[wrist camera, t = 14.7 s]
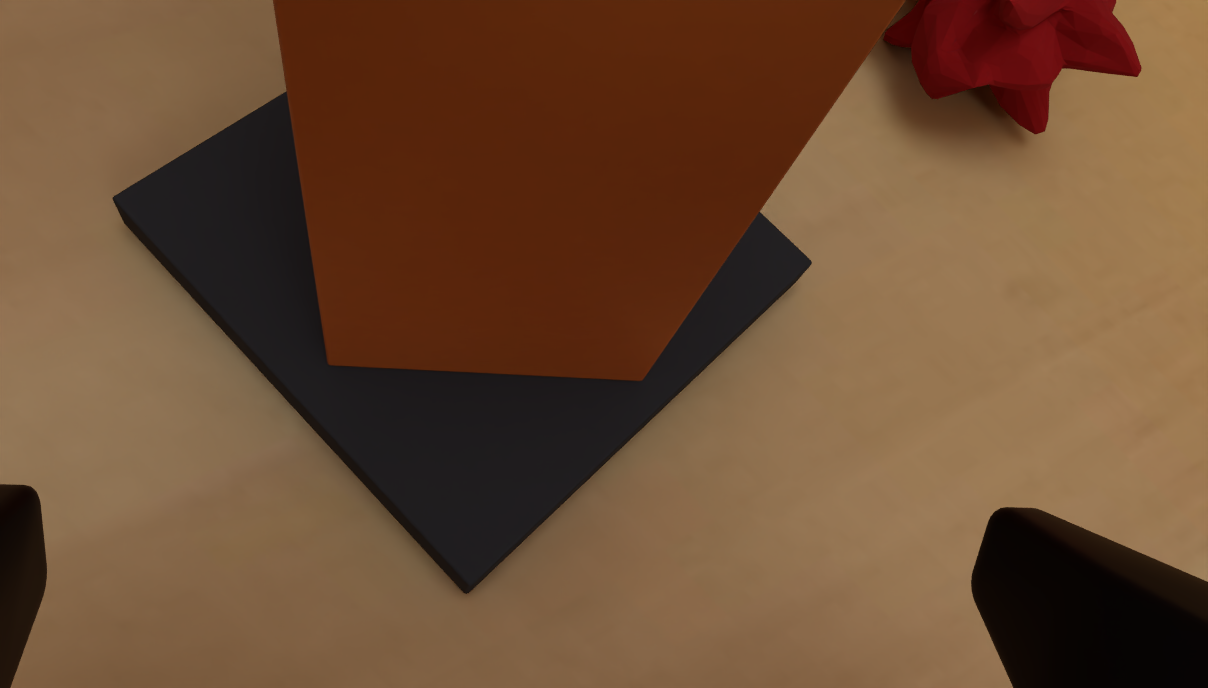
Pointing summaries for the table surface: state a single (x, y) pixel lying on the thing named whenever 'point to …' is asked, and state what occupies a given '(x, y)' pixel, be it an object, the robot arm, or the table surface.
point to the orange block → (545, 166)
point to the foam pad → (406, 396)
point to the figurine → (1012, 48)
